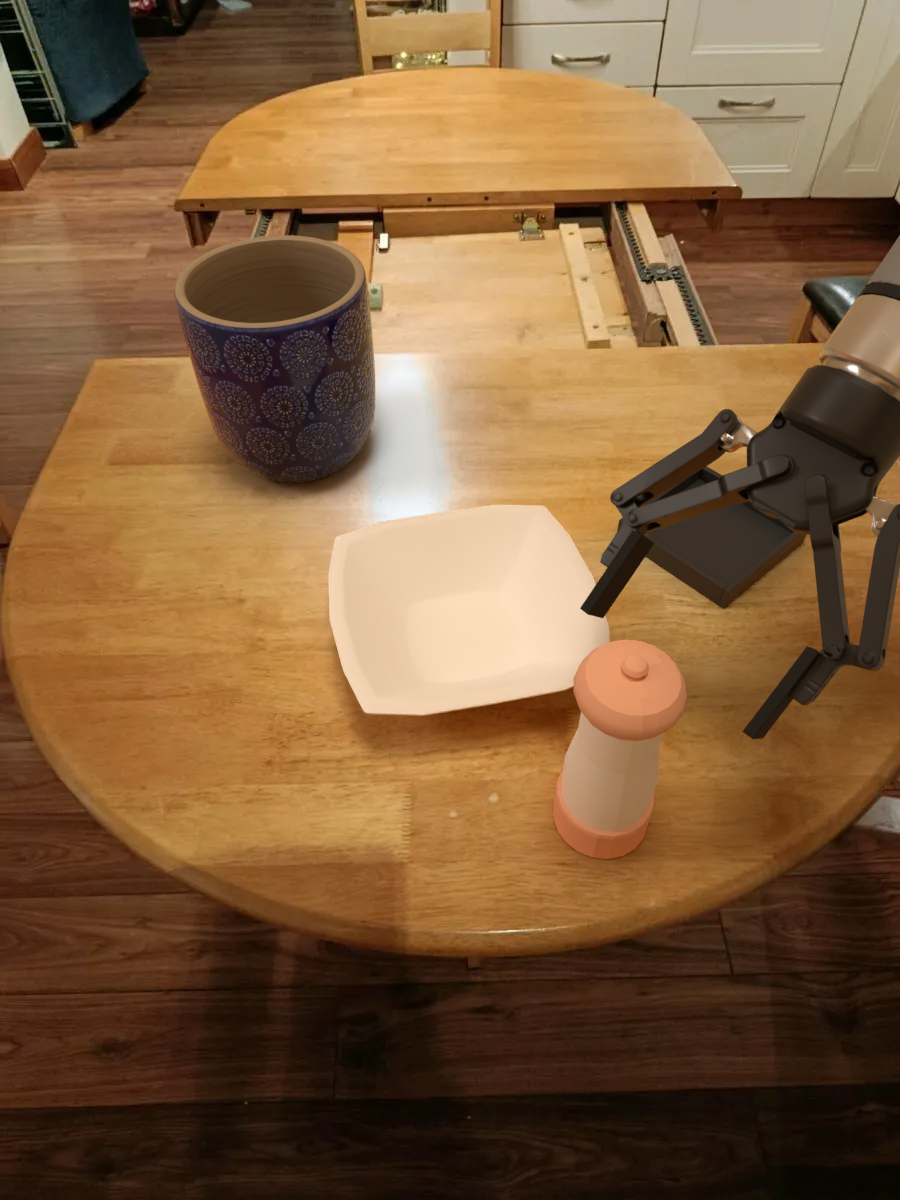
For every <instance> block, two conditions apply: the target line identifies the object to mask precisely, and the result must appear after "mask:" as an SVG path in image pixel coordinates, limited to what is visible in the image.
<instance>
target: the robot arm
mask: <svg viewBox="0 0 900 1200" xmlns="http://www.w3.org/2000/svg"><path fill="white" fill-rule="evenodd" d="M817 354H818V355H817V356H818V360H819V362H820V364H817V365H816V364H815V365H814V366H811V367H808V368H806V370H805V371H804V372H803V374H802V375H801V377H800V379H799V380H798V381H797V382H796V384H795V386H794V387H793V389H792V390H791V392H790V393H789V395H788V396H787V397H786V399H785V400H784V401H783V403H782V404H781V406H780V407H779V409H778V410H777V412H776V414H775V415H774V417H773V419H772V420H771V422H770V423H769V424H768V425H767V426H765V428H763V429H761V430H759V431H756V430H755V429H753V428H752V427H750V426H749V425H748V424H746V423H745V422H743V421H742V420H741V418H740V417H739V416H738V415H737V414H736V413H735V412H734V411H733V410H732V409H730V408H725V409H722V410H721V411H719V412H718V413H717V415H716V416H715V417H713V419H712V420H711V422H710V423H709V424H708V425H707V427H706V428H705V429H704V430H703V431H702V433H700V434H699V435H697V436H695V437H694V438H693V439H691V440H690V441H688V442H686V443H685V444H683V445H681V446H680V447H679V448H677V449H675V450H674V451H673V452H671V453H670V454H668V455H666V456H664V457H663V458H662V459H660V460H659V461H657V462H656V463H654V464H652V465H651V466H649V467H648V468H646V469H644V470H643V471H642V472H640V473H638V474H637V475H636V476H634V477H633V478H631V479H629V480H628V481H626V482H625V483H623V484H621V485H620V486H618V487H617V488H616V489H613V491H612V492H611V494H610V497H609V500H610V503H611V504H612V505H614V507H616V509H617V510H618V512H619V514H620V516H621V518H623V523H622V526H621V527H620V529H619V530H618V532H617V531H616V533H615V535H614V536H613V538H612V539H611V541H610V543H608V545H607V547H606V548H605V549H604V551H603V552H602V554H601V558H600V561H599V562H600V564H602V566H605V567H606V569H605V570H604V572H603V574H602V575H601V576H600V578H599V579H598V581H597V582H596V583H595V584H596V585H595V587H594V588H593V590H592V591H591V593H590V594H589V596H588V597H587V599H586V600H585V602H584V603H583V605H582V606H581V608H580V609H581V610H583V611H584V612H585V613H586V614H588V615H592V616H595V617H599V618H604V616H606V615H607V613H608V612H609V611H610V609H611V608H612V606H613V605H614V603H615V602H616V601H617V599H618V597H619V596H620V595H621V593H622V592H623V590H624V589H625V587H626V586H627V584H628V583H629V582H630V580H631V578H632V577H633V575H634V574H635V572H636V571H637V570H638V568H639V567H640V565H641V564H642V562H643V561H644V560H645V558H646V555H647V553H648V552H649V551H650V549H651V548H652V546H653V545H654V542H653V541H651V540H650V539H648V538H647V537H645V536H644V535H651V534H650V533H649V532H651V531H654V530H657V529H660V528H663V527H666V526H669V525H672V524H675V523H678V522H681V521H684V520H687V519H690V518H693V517H696V516H699V515H702V514H705V513H708V512H711V511H714V510H717V509H720V508H723V507H726V506H729V505H733V504H742V503H745V502H748V501H750V502H751V503H752V504H751V505H753V506H754V507H755V508H756V509H757V510H758V511H760V512H762V513H763V514H765V515H767V516H768V517H772V518H776V519H779V520H780V521H781V522H782V523H783V524H785V525H786V526H787V527H788V528H789V529H790V530H792V531H794V532H795V533H797V534H799V535H800V534H807V535H809V540H810V545H811V548H812V555H813V565H814V574H815V575H814V576H815V584H816V585H815V586H816V595H817V604H818V615H819V625H820V635H821V644H822V645H821V646H822V649H820V651H819V650H817V649H816V648H814V647H811V646H808V645H807V646H806V647H805V648H804V649H803V651H802V652H801V653H800V654H799V656H798V657H797V659H796V660H795V661H794V662H793V664H792V665H791V666H790V668H789V669H788V670H787V672H786V673H785V674H784V676H783V677H782V679H781V680H780V681H779V682H778V684H777V685H776V686H775V688H774V689H773V691H772V692H771V693H770V694H769V696H768V697H767V698H766V699H765V701H764V702H763V704H762V705H761V706H760V707H759V709H758V710H757V712H756V713H755V714H754V715H753V717H752V718H751V719H750V721H749V722H748V723H747V725H746V726H745V727H744V728H743V730H742V733H744V734H745V735H746V736H748V737H749V738H750V739H751V740H759V739H765V737H766V735H767V734H768V733H769V731H770V730H771V729H772V727H773V726H774V725H775V724H776V722H777V721H778V719H779V718H780V717H781V716H782V714H784V712H785V711H786V709H787V708H788V706H789V705H790V704H791V703H792V701H793V700H794V701H796V702H797V703H798V704H800V705H801V706H808V705H810V704H812V703H813V702H815V701H816V700H817V699H818V697H819V696H820V694H822V692H823V691H824V690H825V688H826V687H827V686H828V684H829V683H830V682H831V680H832V679H833V678H834V677H835V675H837V672H838V671H840V669H842V668H843V667H846V666H853V667H857V668H860V669H864V670H868V671H871V672H876V671H877V672H878V671H880V670H881V669H882V668H883V667H884V666H885V664H886V663H885V662H886V657H887V650H888V643H889V638H890V631H891V625H892V618H893V612H894V606H895V600H896V593H897V589H898V588H897V587H898V581H899V574H900V503H899V504H897V503H895V502H893V501H890V500H887V499H884V498H882V497H880V496H878V495H877V491H878V488H879V485H880V483H881V482H882V480H883V479H884V478H885V477H886V475H887V473H888V472H889V471H890V470H891V468H892V467H893V466H894V464H895V463H896V461H897V460H898V459H899V458H900V235H898V237H897V239H896V240H895V241H894V243H893V244H892V246H891V248H890V249H889V251H888V252H887V253H886V254H885V256H884V258H883V259H882V261H881V262H880V263H879V264H878V266H877V268H876V269H875V271H874V272H873V274H872V275H871V276H870V278H869V280H868V282H866V284H865V285H864V288H863V289H862V290H861V292H860V293H859V295H858V296H857V298H856V299H855V300H854V302H853V303H852V304H851V306H850V307H849V308H848V310H847V311H846V313H845V314H844V316H843V317H842V318H841V320H840V321H839V322H838V324H837V325H836V327H835V328H834V330H833V331H832V332H831V334H830V335H829V336H828V337H827V340H826V341H825V343H824V344H823V345H822V347H821V348H820V349H819V351H818V353H817ZM741 448H746V466H745V467H743V468H739V469H737V470H734V471H731V472H729V473H726V474H722V475H723V476H721V477H720V478H719V479H718V480H715V481H712V482H710V483H707V484H704V485H701V486H698V487H695V488H692V489H690V490H687V491H684V492H681V493H678V494H675V495H672V496H669V497H667V498H664V499H661V500H658V501H655V502H652V503H649V502H650V501H652V500H653V499H655V498H657V497H658V496H660V495H661V494H663V493H665V492H666V491H668V490H669V489H671V488H673V487H674V486H676V485H677V484H679V483H680V482H682V481H684V480H685V479H687V478H688V477H690V476H692V475H693V474H695V473H696V472H698V471H700V470H701V469H703V468H704V467H706V466H707V467H709V466H710V465H711V464H712V463H715V462H716V461H717V460H718V459H720V458H721V457H722V456H723V455H725V453H734V452H736V451H738V450H739V449H741ZM647 503H649V504H647ZM645 504H647V505H645ZM866 514H869V515H870V516H871V523H870V529H871V531H872V533H873V534H874V535H875V536H876V540H875V545H874V549H873V555H872V561H871V567H870V573H869V580H868V587H867V593H866V599H865V605H864V612H863V617H862V624H861V629H860V637H859V642H858V645H857V644H853V643H851V639H850V630H849V620H848V612H847V611H848V609H847V601H846V592H845V583H844V572H843V564H842V563H843V562H842V543H841V542H842V541H841V534H840V525H841V524H844V523H847V522H849V521H852V520H855V519H858V518H861V517H863V516H864V515H866Z"/></svg>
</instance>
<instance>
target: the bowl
mask: <svg viewBox="0 0 900 1200" xmlns="http://www.w3.org/2000/svg"><path fill="white" fill-rule="evenodd" d="M327 571H328V574H327V577H328V605H329V606H328V611H329V613H328V615H329V624H330V627H331V630H332V634H333V638H334V642H335V645H336V649H337V654H338V657H339V660H340V664H341V669H342V671H343V674H344V675H345V677H346V679H347V681H348V683H349V686H350V688H351V689H352V692H353V693H354V695H355V698H356V699H357V702H358V703H359V705H360V707H361V710H362V712H363V713H364V714H366V715H374V716H375V715H376V716H378V715H379V716H409V717H410V716H411V717H412V716H413V717H425V716H430V715H437V714H442V713H443V714H444V713H449V712H455V711H461V710H462V711H463V710H467V709H473V708H479V707H485V706H491V705H492V706H493V705H497V704H498V705H499V704H502V703H507V702H513V701H518V700H523V699H529V698H534V697H540V696H544V695H549V694H555V693H560V692H564V691H567V690H570V689H573V688H574V676H575V674H576V672H577V669H578V667H579V665H580V664H581V662H582V660H583V659H584V658H585V657H586V656H587V655H588V654H589V653H590V652H591V651H592V650H594V649H596V648H598V647H600V646H602V645H604V644H606V643H609V642H611V635H610V626H609V623H608V618H607V616H606V615H605V616H604V618H599V617H595V616H592V615H588V614H586V613H585V612H584V611H583V610H581V609H580V608H581V606H582V605H583V603H584V602H585V600H586V599H587V597H588V596H589V594H590V593H591V591H592V590H593V588H594V587H595V585H596V584H597V583H596V582H595V579H594V576H593V574H592V572H591V570H590V569H589V567H588V565H587V563H586V561H585V560H584V559H583V557H582V555H581V553H580V551H579V549H578V547H577V545H576V544H575V542H574V540H573V539H572V537H571V536H570V534H569V533H568V532H567V529H565V528H564V527H563V526H562V524H561V523H560V522H559V521H558V519H557V518H556V517H555V516H554V515H553V514H552V513H551V511H550V510H549V508H547V506H545V505H541V504H539V505H538V504H537V505H536V504H503V503H501V504H499V503H497V504H492V505H482V506H476V507H475V506H474V507H469V508H461V509H453V510H448V511H438V512H433V513H428V514H422V515H415V516H408V517H403V518H402V517H401V518H395V519H389V520H388V519H387V520H382V521H378V522H376V523H372V524H369V525H367V526H364V527H361V528H357V529H355V530H352V531H349V532H345V533H343V534H340V535H337V536H336V537H335V538H334V542H333V547H332V552H331V557H330V562H329V566H328V570H327Z"/></svg>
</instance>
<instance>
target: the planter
mask: <svg viewBox="0 0 900 1200" xmlns="http://www.w3.org/2000/svg"><path fill="white" fill-rule="evenodd" d="M367 280H368V279H367V275H366V269H365V266H364V265H363V263H362V261H361V260H360V259H359V257H357V255H356V254H355V253H353V252H352V251H350V250H349V249H347V248H346V247H344V246H342V245H339V244H337V243H335V242H333V241H329V240H326V239H322V238H318V237H313V236H306V235H305V236H304V235H291V234H284V235H283V234H282V235H265V236H258V237H251V238H246V239H241V240H237V241H233V242H230V243H227V244H224V245H221V246H218V247H216V248H214V249H211V250H209V251H208V252H205V253H203V254H202V255H200V256H198V257H197V258H196V259H194V260H193V261H191V262H190V263H189V264H188V265H187V266H186V267H185V268H184V269H183V270H182V271H181V272H180V273H179V276H178V277H177V279H176V281H175V284H174V290H173V295H174V300H175V306H176V309H177V314H178V318H179V321H180V325H181V329H182V333H183V336H184V340H185V345H186V348H187V352H188V355H189V359H190V363H191V365H192V369H193V372H194V376H195V379H196V382H197V385H198V389H199V392H200V395H201V398H202V401H203V404H204V408H205V409H206V413H207V415H208V418H209V421H210V423H211V427H212V428H213V431H214V432H215V434H216V436H217V438H218V440H219V442H220V444H221V445H222V447H223V448H224V449H225V450H226V452H227V453H228V454H229V455H230V456H231V458H233V459H234V460H235V461H236V462H237V463H239V464H240V465H241V466H242V467H243V468H244V469H246V470H248V471H249V472H251V473H253V474H255V475H257V476H259V477H262V478H264V479H267V480H271V481H276V482H282V483H305V482H312V481H316V480H319V479H322V478H326V477H328V476H330V475H332V474H334V473H336V472H338V471H339V470H341V469H343V468H344V467H346V466H348V464H349V463H350V462H351V461H352V460H353V459H354V458H355V457H356V456H357V455H358V453H359V452H360V451H361V450H362V448H363V447H364V445H365V443H366V442H367V439H368V437H369V435H370V432H371V430H372V427H373V425H374V419H375V412H376V365H375V351H374V338H373V336H374V335H373V324H372V316H371V304H370V296H369V287H368V281H367Z"/></svg>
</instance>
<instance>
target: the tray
mask: <svg viewBox="0 0 900 1200" xmlns="http://www.w3.org/2000/svg"><path fill="white" fill-rule="evenodd" d="M723 475H724V474H721V473H719V472H717V471H716V470H714V469H712V468H710V467H709V466H706V467H704V468H703V469H701V470H700V471H698V472H696V473H695V474H693V475H692V476H690V477H688V478H687V479H685V480H684V481H682V482H680V483H679V484H677V485H676V486H674V487H673V488H671V489H669V490H668V491H666V492H665V493H663V494H661V495H660V496H658V497H657V498H655V499H653V500H652V501H650V502H649V503H652V502H655V501H658V500H661V499H664V498H667V497H669V496H672V495H675V494H678V493H681V492H684V491H687V490H690V489H692V488H695V487H698V486H701V485H704V484H707V483H710V482H712V481H715V480H718V479H719V478H720V477H721V476H723ZM649 503H647V504H649ZM647 504H645V505H647ZM751 504H752V503H751V502H750V501H748V502H745V503H742V504H733V505H729V506H726V507H723V508H720V509H717V510H714V511H711V512H708V513H705V514H702V515H699V516H696V517H693V518H690V519H687V520H684V521H681V522H678V523H675V524H672V525H669V526H666V527H663V528H660V529H657V530H654V531H651V532H649V533H650V534H651V535H644V536H645V537H647V538H648V539H650V540H651V541H653V542H654V545H653V546H652V548H651V549H650V551H649V552H648V553H647V555H646V556H645V558H647V559H649V560H650V561H651V562H653V563H655V564H656V565H658V566H659V567H661V568H662V569H664V570H665V571H667V572H668V573H670V574H671V575H673V576H674V577H675V578H677V579H679V581H681V582H683V583H684V584H685V585H686V584H687V585H688V586H689V587H690V588H692V589H694V590H695V591H697V592H698V593H699V594H701V595H702V596H704V597H706V598H707V599H709V600H710V601H711V602H713V603H714V604H716V605H717V606H719V607H721V608H722V609H725V608H726V607H727V606H729V605H730V604H731V603H733V601H735V600H736V599H737V598H738V597H739V596H741V595H742V594H743V593H744V592H746V591H747V590H748V589H749V588H751V586H752V585H754V584H755V583H756V582H757V581H759V580H760V579H761V578H763V577H764V576H765V575H766V574H767V573H768V572H769V571H770V570H772V569H773V568H774V567H775V566H777V565H778V564H779V563H781V561H783V560H784V559H785V558H786V557H788V556H789V555H790V554H792V552H793V551H795V550H796V549H797V548H798V547H799V546H801V545H802V544H803V543H804V542H805V540H806V537H807V536H808V534H800V535H799V534H797V533H795V532H794V531H792V530H790V529H789V528H788V527H787V526H786V525H785V524H783V523H782V522H781V521H780V520H779V519H776V518H772V517H768V516H767V515H765V514H763V513H762V512H760V511H758V510H757V509H756V508H755V507H754V506H753V505H751ZM622 523H623V518H622V517H621V518H620V519H619V520H618V525H617V530H616V533H617V532H618V530H619V529H620V527H621V526H622Z"/></svg>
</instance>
